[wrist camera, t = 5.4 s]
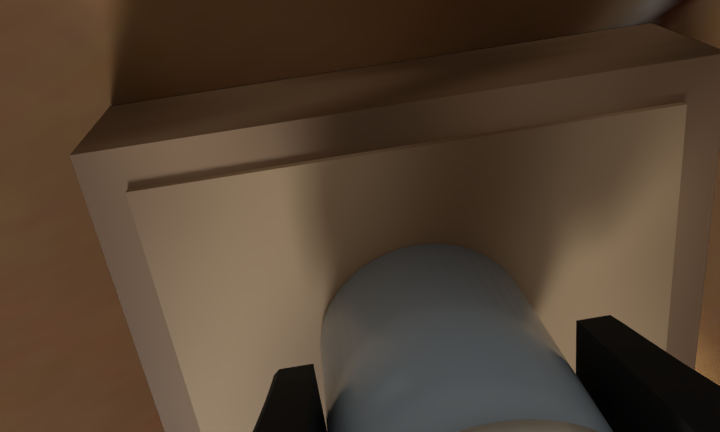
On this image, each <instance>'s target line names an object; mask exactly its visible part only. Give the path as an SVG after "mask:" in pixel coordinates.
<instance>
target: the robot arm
mask: <svg viewBox="0 0 720 432" xmlns="http://www.w3.org/2000/svg"><path fill="white" fill-rule="evenodd" d="M576 375H577V377H578V378H579V380H580V381H581V383H582V385H583V386H584V388H585V389H586V391H587V392H588V394H589V395H590V397H591V398H592V400H593V401H594V403H595V404H596V406H597V407H598V409H599V411H600V412H601V414H602V415H603V417H604V418H605V420H606V421H607V423H608V424H609V426H610V427H611V429H612V430H613V432H720V386H719V385H717V384H716V383H714V382H713V381H711V380H709V379H708V378H706V377H704V376H703V375H701V374H700V373H698V372H697V371H695V370H693V369H692V368H690V367H689V366H687V365H686V364H684V363H682V362H681V361H679V360H678V359H676V358H675V357H673V356H672V355H670V354H669V353H667V352H666V351H664V350H663V349H661V348H660V347H658V346H657V345H655V344H654V343H652V342H651V341H649V340H648V339H646V338H645V337H643V336H642V335H640V334H639V333H637V332H636V331H634V330H633V329H631V328H630V327H628V326H627V325H625V324H624V323H622V322H621V321H619V320H618V319H616V318H614V317H613V316H611V315H607V316H601V317H595V318H589V319H582V320H576ZM253 432H327V428H326V423H325V418H324V414H323V409H322V404H321V399H320V394H319V389H318V384H317V379H316V374H315V369H314V364H308V365H302V366H296V367H290V368H284V369H279V370H278V371H277V372H276V373H275V375H274V376H273V380H272V383H271V386H270V389H269V392H268V395H267V397H266V400H265V403H264V405H263V408H262V410H261V413H260V415H259V418H258V420H257V422H256V425H255V427H254V429H253Z"/></svg>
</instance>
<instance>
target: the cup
mask: <svg viewBox="0 0 720 432" xmlns="http://www.w3.org/2000/svg"><path fill="white" fill-rule="evenodd" d="M320 349H321V362H322V374H323V386H324V398H325V411H326V423H327V432H613V430H612V429H611V427H610V426H609V424H608V423H607V421H606V420H605V418H604V417H603V415H602V414H601V412H600V411H599V409H598V407H597V406H596V404H595V403H594V401H593V400H592V398H591V397H590V395H589V394H588V392H587V391H586V389H585V388H584V386H583V385H582V383H581V381H580V380H579V378H578V377H577V375H576V374H575V372H574V371H573V369H572V368H571V366H570V365H569V363H568V362H567V360H566V358H565V357H564V355H563V354H562V352H561V351H560V349H559V348H558V346H557V345H556V343H555V342H554V340H553V339H552V337H551V335H550V334H549V332H548V331H547V329H546V328H545V326H544V325H543V323H542V322H541V320H540V319H539V317H538V316H537V314H536V312H535V311H534V309H533V308H532V306H531V305H530V303H529V302H528V300H527V299H526V297H525V296H524V294H523V293H522V291H521V289H520V288H519V286H518V285H517V283H516V282H515V280H514V279H513V278H512V277H511V276H510V274H509V273H508V272H507V271H506V270H505V269H504V268H502V267H501V266H500V265H499V264H498V263H497V262H495V261H493V260H492V259H490V258H489V257H487V256H485V255H483V254H481V253H479V252H476V251H474V250H471V249H468V248H464V247H461V246H455V245H449V244H423V245H415V246H410V247H405V248H401V249H398V250H395V251H392V252H389V253H387V254H385V255H383V256H381V257H379V258H377V259H375V260H373V261H372V262H370V263H368V264H367V265H365V266H363V267H362V268H361V269H360V270H359V271H357V272H356V273H355V274H354V275H352V276H351V277H350V278H349V279H348V280H347V282H346V283H345V284H344V285H343V286H342V287H341V288H340V290H339V291H338V292H337V294H336V295H335V296H334V298H333V300H332V302H331V304H330V305H329V307H328V310H327V312H326V315H325V317H324V320H323V325H322V329H321V337H320Z"/></svg>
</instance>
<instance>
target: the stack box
mask: <svg viewBox="0 0 720 432" xmlns="http://www.w3.org/2000/svg"><path fill="white" fill-rule="evenodd" d="M719 144H720V49H718V48H716V47H713V46H710V45H708V44H705V43H702V42H700V41H697V40H695V39H692V38H689V37H687V36H684V35H681V34H679V33H676V32H674V31H671V30H668V29H666V28H663V27H660V26H658V25H655V24H652V23H648V24H641V25H635V26H628V27H622V28H615V29H609V30H602V31H596V32H589V33H583V34H577V35H570V36H564V37H557V38H551V39H544V40H538V41H531V42H525V43H518V44H512V45H505V46H499V47H492V48H486V49H479V50H473V51H466V52H460V53H453V54H447V55H440V56H434V57H427V58H421V59H414V60H408V61H401V62H395V63H388V64H382V65H375V66H369V67H362V68H356V69H349V70H343V71H336V72H330V73H323V74H317V75H310V76H304V77H298V78H291V79H285V80H278V81H272V82H265V83H259V84H252V85H246V86H239V87H233V88H226V89H220V90H213V91H207V92H200V93H194V94H187V95H181V96H174V97H168V98H161V99H155V100H148V101H142V102H135V103H129V104H122V105H116V106H110V107H109V108H108V109H107V111H106V112H105V113H104V114H103V116H102V117H101V118H100V119H99V120H98V122H97V123H96V124H95V125H94V126H93V128H92V129H91V130H90V131H89V133H88V134H87V135H86V136H85V137H84V139H83V140H82V141H81V142H80V143H79V145H78V146H77V147H76V148H75V149H74V151H73V152H72V153H71V154H70V158H71V161H72V164H73V167H74V170H75V172H76V175H77V178H78V181H79V184H80V187H81V190H82V193H83V196H84V199H85V201H86V204H87V207H88V210H89V213H90V216H91V219H92V222H93V225H94V228H95V230H96V233H97V236H98V239H99V242H100V245H101V248H102V251H103V254H104V257H105V259H106V262H107V265H108V268H109V271H110V274H111V277H112V280H113V283H114V286H115V288H116V291H117V294H118V297H119V300H120V303H121V306H122V309H123V312H124V315H125V317H126V320H127V323H128V326H129V329H130V332H131V335H132V338H133V341H134V343H135V346H136V349H137V352H138V355H139V358H140V361H141V364H142V367H143V370H144V372H145V375H146V378H147V381H148V384H149V387H150V390H151V393H152V396H153V399H154V401H155V404H156V407H157V410H158V413H159V416H160V419H161V422H162V425H163V428H164V430H165V432H253V429H254V427H255V425H256V422H257V420H258V418H259V415H260V413H261V410H262V408H263V405H264V403H265V400H266V397H267V395H268V392H269V389H270V386H271V383H272V380H273V376H274V375H275V373H276V372H277V371H278V370H279V369H284V368H290V367H296V366H302V365H308V364H314V369H315V374H316V379H317V384H318V389H319V394H320V399H321V404H322V409H323V414H324V418H325V423H326V411H325V398H324V386H323V374H322V362H321V349H320V337H321V329H322V325H323V320H324V317H325V315H326V312H327V310H328V307H329V305H330V304H331V302H332V300H333V298H334V296H335V295H336V294H337V292H338V291H339V290H340V288H341V287H342V286H343V285H344V284H345V283H346V282H347V280H348V279H349V278H350V277H351V276H352V275H354V274H355V273H356V272H357V271H359V270H360V269H361V268H362V267H363V266H365V265H367V264H368V263H370V262H372V261H373V260H375V259H377V258H379V257H381V256H383V255H385V254H387V253H389V252H392V251H395V250H398V249H401V248H405V247H410V246H415V245H423V244H449V245H455V246H461V247H464V248H468V249H471V250H474V251H476V252H479V253H481V254H483V255H485V256H487V257H489V258H490V259H492V260H493V261H495V262H497V263H498V264H499V265H500V266H501V267H502V268H504V269H505V270H506V271H507V272H508V273H509V274H510V276H511V277H512V278H513V279H514V280H515V282H516V283H517V285H518V286H519V288H520V289H521V291H522V293H523V294H524V296H525V297H526V299H527V300H528V302H529V303H530V305H531V306H532V308H533V309H534V311H535V312H536V314H537V316H538V317H539V319H540V320H541V322H542V323H543V325H544V326H545V328H546V329H547V331H548V332H549V334H550V335H551V337H552V339H553V340H554V342H555V343H556V345H557V346H558V348H559V349H560V351H561V352H562V354H563V355H564V357H565V358H566V360H567V362H568V363H569V365H570V366H571V368H572V369H573V371H574V372H575V374H576V320H582V319H589V318H595V317H601V316H607V315H611V316H613V317H614V318H616V319H618V320H619V321H621V322H622V323H624V324H625V325H627V326H628V327H630V328H631V329H633V330H634V331H636V332H637V333H639V334H640V335H642V336H643V337H645V338H646V339H648V340H649V341H651V342H652V343H654V344H655V345H657V346H658V347H660V348H661V349H663V350H664V351H666V352H667V353H669V354H670V355H672V356H673V357H675V358H676V359H678V360H679V361H681V362H682V363H684V364H686V365H687V366H689V367H690V368H692V369H693V370H695V361H696V352H697V343H698V334H699V325H700V316H701V307H702V298H703V289H704V280H705V271H706V261H707V252H708V243H709V234H710V225H711V216H712V207H713V198H714V189H715V180H716V171H717V162H718V153H719ZM326 428H327V423H326Z"/></svg>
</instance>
